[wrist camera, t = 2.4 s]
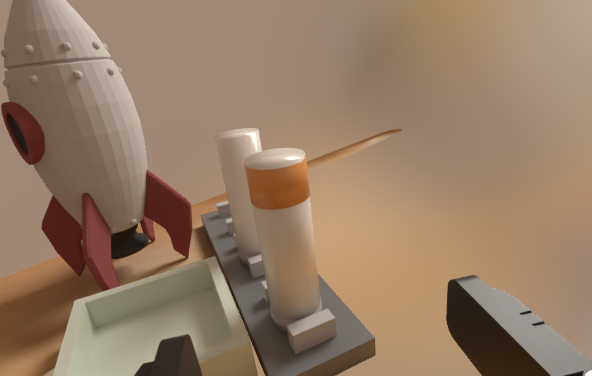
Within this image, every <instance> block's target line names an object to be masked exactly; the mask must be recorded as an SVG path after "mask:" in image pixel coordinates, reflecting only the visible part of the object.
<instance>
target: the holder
mask: <svg viewBox="0 0 592 376" xmlns="http://www.w3.org/2000/svg"><path fill="white" fill-rule="evenodd" d="M216 206H217V211H214V212H210V213H206V214H203V215H201V218H202V222H203V226H204V228H205V231H206V233H207V236H208V238H209V241H210V243H211V245H212V248H213V250H214V253H215V255H216V257H217V260H218V262H219V265H220V267H221V270H222V272H223V274H224V277H225V279H226V282H227V284H228V286H229V289H230V291H231V294H232V296H233V299H234V301H235V303H236V306H237V308H238V310H239V313H240V315H241V318H242V320H243V323H244V325H245V328H246V330H247V332H248V335H249V337H250V340H251V342H252V344H253V347H254V349H255V352H256V354H257V357H258V359H259V361H260V364H261V366H262V368H263V371H264V374H265V376H335V375H337V374H339V373H341V372H343V371H345V370H347V369H349V368H351V367H352V366H355V365H357V364H359V363H361V362H363V361H365V360H367V359H369V358H371V357H373V356H375V338H374V337H373V335H372V334H371V333H370V332H369V331H368V330H367V329H366V328H365V326H364V325H363V324H362V323H361V322H360V321H359V320H358V319H357V318H356V316H355V315H354V314H353V313H352V312H351V311H350V310H349V308H348V307H347V306H346V305H345V304H344V303H343V302H342V301H341V299H340V298H339V297H338V296H337V295H336V294H335V293H334V291H333V290H332V289H331V288H330V287H329V286H328V285H327V284H326V282H325V281H324V280H323V279H322V278H321V277H320V276H319V275H318V280H319V290H320V296H321V302H322V311H320V312H318V313H315V314H313V315H311V316H308V317H306V318H304V319H301V320H299V321H296V322H294V323H292V324H289V325H287V331H288V334H286V333H283V332H281V331H279V330H278V329H277V328H276V327H275V326H274V324H273V322H272V317H271V311H270V301H269V296H268V290H267V285H266V279H265V273H264V268H263V262H262V257H261V254H260V255H257V256H254V257H251V258H248V262H249V267H250V268H249V267H246V266H244V265H242V264H241V262H240V258H239V253H238V246H237V241H236V236H235V231H234V226H233V221H232V217H231V212H230V207H229V202H228V201H225V202H221V203H218V204H216Z"/></svg>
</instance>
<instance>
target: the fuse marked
mask: <svg viewBox="0 0 592 376" xmlns="http://www.w3.org/2000/svg"><path fill="white" fill-rule="evenodd" d="M244 166H245V172H246V177H247V183H248V188H249V194H250V200H251V203H252V206H253V212H254V217H255V223H256V229H257V234H258V240H259V245H260V251H261V257H262V262H263V268H264V273H265V279H266V285H267V290H268V296H269V301H270V311H271V317H272V322H273V324H274V326H275V327H276V328H277V329H278V330H279V331H281V332H283V333H286V334H288V331H287V325H289V324H292V323H294V322H296V321H299V320H301V319H304V318H306V317H308V316H311V315H313V314H315V313H318V312H320V311H322V302H321V296H320V290H319V280H318V272H317V262H316V253H315V244H314V234H313V225H312V216H311V206H310V198H309V196H310V190H309V180H308V171H307V162H306V155H305V152H304V151H302V150H300V149H296V148H277V149H270V150H265V151H261V152H257V153H254V154H252V155H250V156H248V157H247V158H246V159H245V163H244Z"/></svg>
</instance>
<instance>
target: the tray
mask: <svg viewBox="0 0 592 376" xmlns="http://www.w3.org/2000/svg"><path fill="white" fill-rule="evenodd" d="M186 334H189V335H190V337H191V339H192V343H193V346H194V349H195V352H196V356H197V359H198V362H199V365H200V368H201V372H202V376H258V375H257V370H256V366H255V361H254V356H253V352H252V347H251V342H250V340H249V337H248V335H247V333H246V330H245V328H244V326H243V323H242V320H241V318H240V315H239V313H238V311H237V308H236V306H235V303H234V301H233V299H232V296H231V293H230V291H229V289H228V286H227V284H226V281H225V279H224V276H223V274H222V271H221V269H220V267H219V264H218V262H217V259H216V257H215V256H213V257H210V258H207V259H204V260H201V261H198V262H195V263H191V264H188V265H185V266H182V267H179V268H176V269H172V270H169V271H166V272H163V273H160V274H157V275H154V276H150V277H147V278H144V279H141V280H138V281H135V282H131V283H128V284H125V285H122V286H119V287H116V288H113V289H109V290H106V291H103V292H100V293H97V294H94V295H91V296H87V297H84V298H81V299H78V300H75V301H74V304H73V308H72V311H71V315H70V318H69V321H68V325H67V328H66V332H65V335H64V339H63V342H62V345H61V349H60V352H59V356H58V359H57V362H56V366H55V369H54V373H53V376H134V375H135V373H136V372H137V371H138V369H139V368H140V367H141V365H142V364H143V363H148V362H152V361H154V360H155V356H156V353H157V350H158V346H159V343H160V341H161V340H163V339H167V338H172V337H177V336H181V335H186Z"/></svg>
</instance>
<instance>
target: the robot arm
mask: <svg viewBox="0 0 592 376" xmlns="http://www.w3.org/2000/svg"><path fill="white" fill-rule="evenodd" d="M446 320H447V325H448V328H449V331H450V333H451V335H452V337H453V339H454V340H455V341H456V343H457V344H458V345H459V347H460V348H461V349H462V350H463V352H464V353H465V354H466V356H467V357H468V358H469V359H470V361H471V362H472V363H473V365H474V366H475V367H476V368H477V370H478V371H479V372H480V373H481V375H482V376H592V361H591V360H589V359H588V358H587V357H586V356H585V355H583V354H582V353H581V352H580V351H579V350H578V349H576V348H575V347H574V346H573V345H572V344H570V343H569V342H568V341H567V340H566V339H564V338H563V337H562V336H561V335H560V334H558V333H557V332H556V331H555V330H554V329H553V328H551V327H550V326H549V325H548V324H545V323H544V321H543V320H542V319H541V318H540V317H538V316H537V315H536V314H535V313H532V312H531V310H530V309H529V308H528V307H527V306H525V305H524V304H523V303H522V302H521V301H519V300H518V299H517V298H516V297H514V296H512V295H510V294H508V293H505V292H504V291H502V290H499V289H498V288H496V289H491V288H490V287H489V286H488V285H487V284H486V283H485V282H484V281H482V280H481V279H480V278H479V277H477V276H475V275H472V276H467V277H462V278H457V279H452V280H450V281H449V283H448V292H447V315H446ZM134 376H202V372H201V368H200V365H199V362H198V359H197V356H196V352H195V349H194V346H193V343H192V339H191V337H190V335H189V334H186V335H181V336H177V337H172V338H167V339H163V340H161V341H160V343H159V346H158V350H157V353H156V356H155V360H154V361H152V362H148V363H143V364H142V365H141V367H140V368H139V369H138V371H137V372H136V373H135V375H134Z"/></svg>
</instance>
